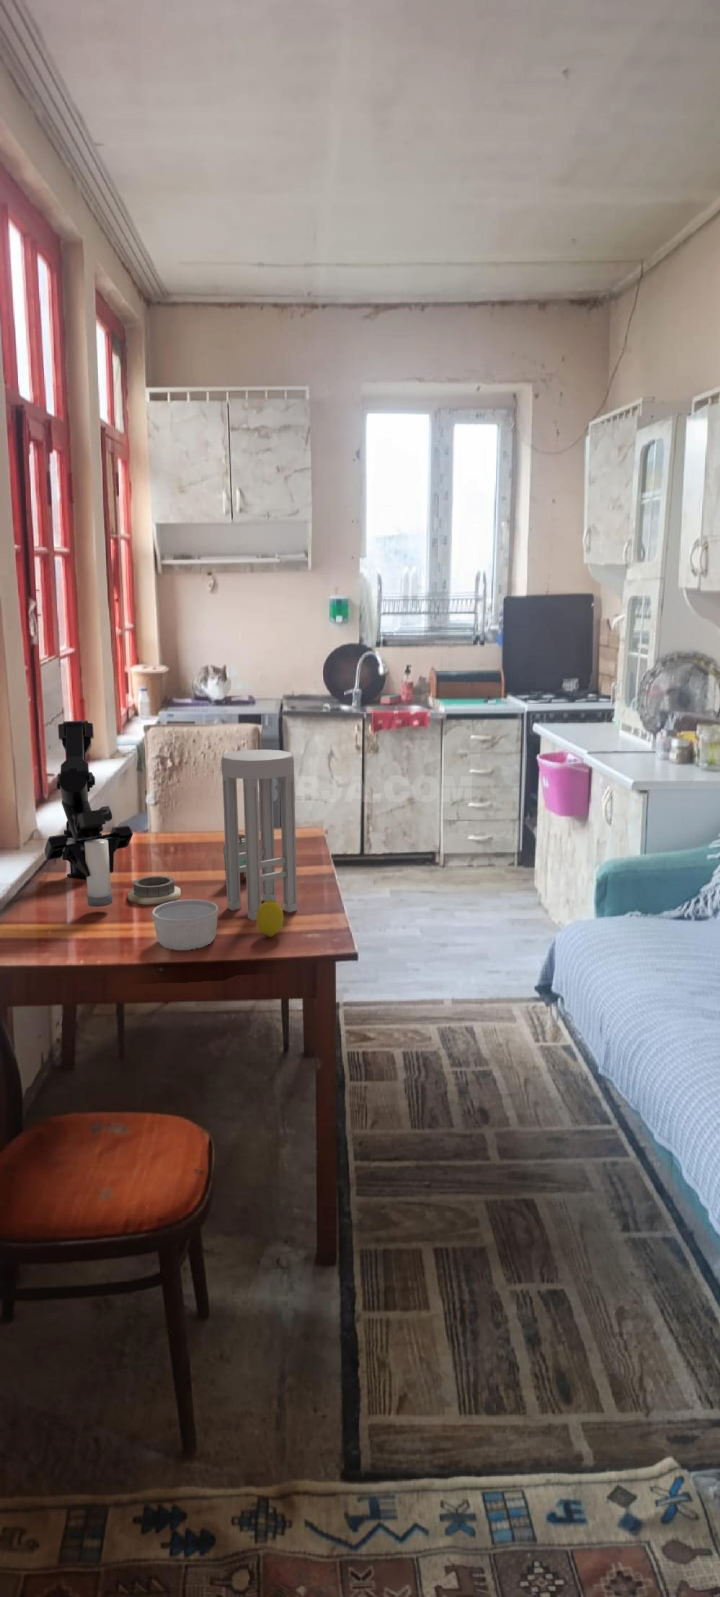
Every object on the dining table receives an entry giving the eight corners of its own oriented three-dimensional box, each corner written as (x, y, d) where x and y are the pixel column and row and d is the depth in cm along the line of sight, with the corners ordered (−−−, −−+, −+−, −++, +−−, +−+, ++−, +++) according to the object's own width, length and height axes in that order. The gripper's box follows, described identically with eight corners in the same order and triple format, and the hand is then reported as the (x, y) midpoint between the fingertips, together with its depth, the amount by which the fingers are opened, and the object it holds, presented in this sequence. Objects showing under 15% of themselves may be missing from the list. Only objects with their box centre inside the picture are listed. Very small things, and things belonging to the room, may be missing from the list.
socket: (117, 901, 228) (117, 885, 227) (147, 887, 239) (146, 872, 238) (162, 906, 224) (162, 891, 223) (190, 892, 235) (189, 877, 234)
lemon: (257, 933, 206) (256, 896, 204) (283, 932, 206) (283, 895, 205) (256, 942, 200) (255, 904, 199) (284, 941, 201) (283, 903, 199)
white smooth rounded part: (82, 905, 219) (78, 843, 216) (97, 898, 223) (93, 838, 221) (103, 907, 217) (99, 845, 214) (117, 900, 222) (113, 839, 219)
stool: (214, 907, 223) (208, 753, 216) (273, 894, 232) (269, 746, 225) (249, 925, 211) (244, 762, 204) (310, 911, 220) (307, 755, 213)
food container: (248, 887, 239) (247, 846, 237) (224, 885, 240) (222, 845, 238) (263, 873, 250) (262, 834, 248) (240, 872, 252) (239, 833, 250)
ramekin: (182, 958, 192) (180, 923, 191) (140, 943, 201) (138, 910, 199) (232, 940, 202) (231, 907, 201) (190, 926, 210) (189, 895, 209)
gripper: (44, 800, 213) (65, 861, 207) (127, 790, 224) (149, 847, 217) (36, 829, 221) (55, 888, 215) (116, 818, 232) (137, 874, 225)
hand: (100, 873), depth 217 cm, fingers closed on white smooth rounded part, 5 cm apart
